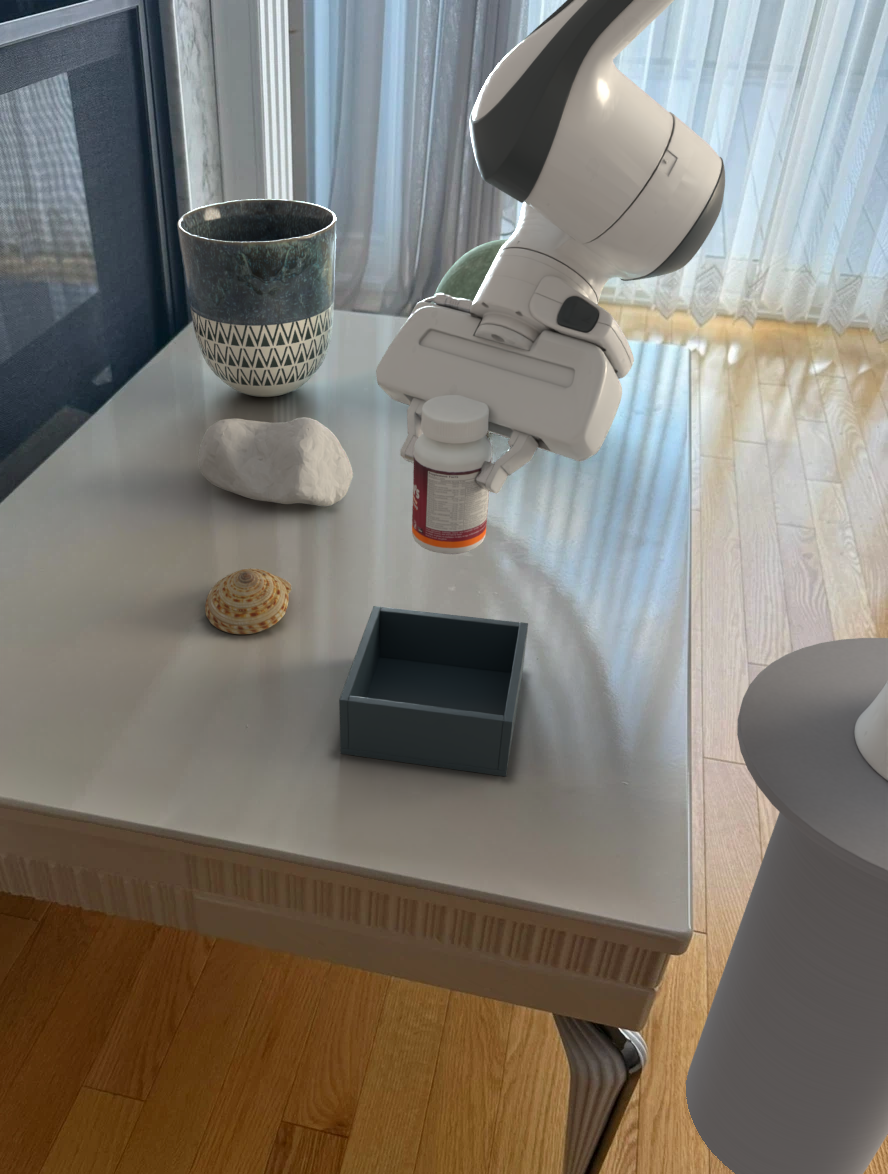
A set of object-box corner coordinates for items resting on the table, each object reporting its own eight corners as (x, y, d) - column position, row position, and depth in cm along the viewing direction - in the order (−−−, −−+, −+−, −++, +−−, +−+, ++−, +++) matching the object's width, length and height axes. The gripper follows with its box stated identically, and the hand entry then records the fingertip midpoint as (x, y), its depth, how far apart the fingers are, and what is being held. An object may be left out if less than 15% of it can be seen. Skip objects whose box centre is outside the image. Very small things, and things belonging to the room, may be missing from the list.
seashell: (305, 569, 102) (277, 580, 95) (299, 625, 104) (272, 641, 96) (227, 556, 104) (194, 567, 97) (223, 612, 106) (190, 626, 98)
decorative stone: (367, 457, 120) (342, 406, 110) (344, 535, 117) (317, 490, 108) (232, 445, 125) (198, 396, 116) (208, 519, 123) (171, 475, 114)
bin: (522, 675, 92) (528, 622, 89) (506, 776, 82) (512, 722, 79) (373, 657, 95) (373, 605, 91) (340, 753, 85) (338, 699, 81)
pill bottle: (414, 517, 90) (417, 389, 82) (487, 521, 89) (496, 392, 82) (408, 555, 85) (411, 422, 78) (484, 558, 84) (494, 425, 77)
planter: (245, 432, 132) (231, 252, 118) (169, 384, 144) (148, 216, 130) (368, 393, 140) (368, 222, 127) (287, 351, 152) (278, 191, 139)
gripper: (408, 267, 85) (330, 421, 85) (632, 322, 74) (541, 498, 75) (440, 309, 90) (367, 454, 91) (653, 366, 79) (568, 529, 80)
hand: (447, 474), depth 83 cm, fingers closed on pill bottle, 6 cm apart
